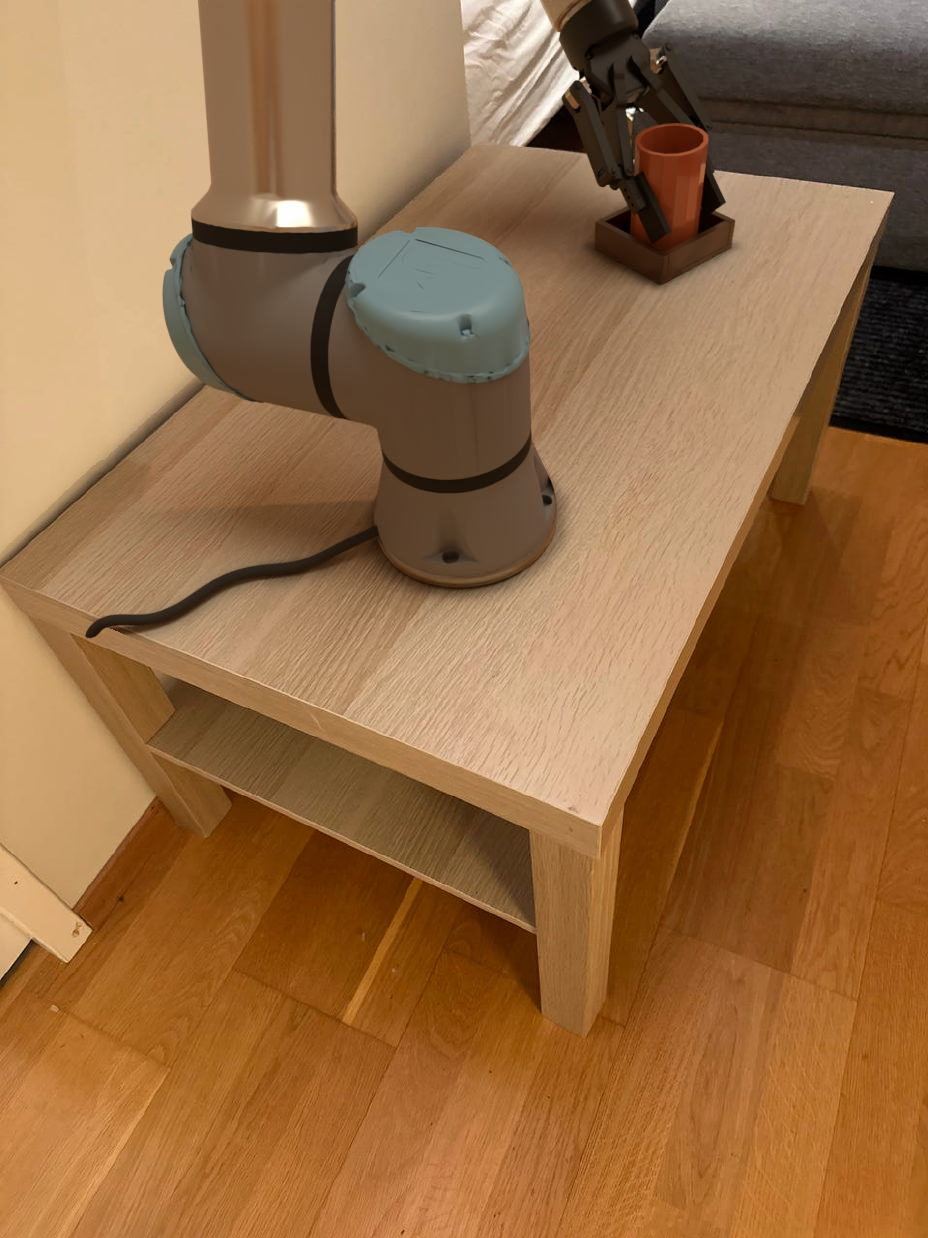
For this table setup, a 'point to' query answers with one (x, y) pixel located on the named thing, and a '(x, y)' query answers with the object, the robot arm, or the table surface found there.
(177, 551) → the table surface
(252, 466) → the table surface
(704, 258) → the tray
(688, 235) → the pencil cup
